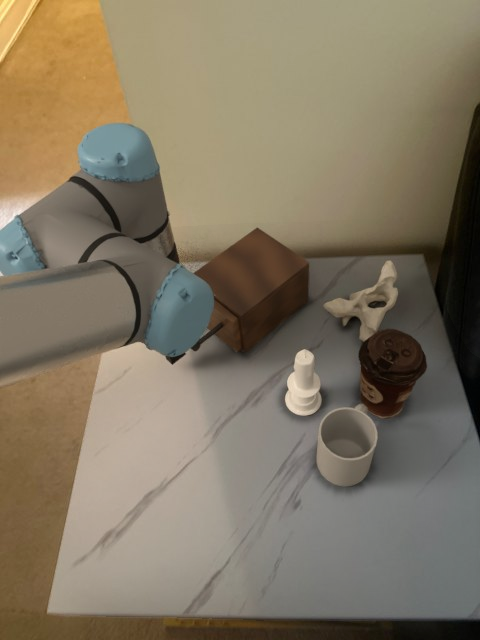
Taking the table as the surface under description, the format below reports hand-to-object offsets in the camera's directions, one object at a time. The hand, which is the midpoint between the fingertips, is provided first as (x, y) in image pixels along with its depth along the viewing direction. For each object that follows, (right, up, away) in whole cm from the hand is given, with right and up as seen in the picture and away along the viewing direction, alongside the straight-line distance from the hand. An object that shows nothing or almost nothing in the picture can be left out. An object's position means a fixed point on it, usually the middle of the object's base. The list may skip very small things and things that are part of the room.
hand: (176, 356), depth 86 cm
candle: (+19, -6, -3) cm, 20 cm away
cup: (+25, -13, -9) cm, 29 cm away
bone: (+30, +6, +6) cm, 31 cm away
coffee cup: (+31, -6, -4) cm, 31 cm away
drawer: (+8, +5, +6) cm, 11 cm away
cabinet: (+12, +8, +8) cm, 16 cm away
